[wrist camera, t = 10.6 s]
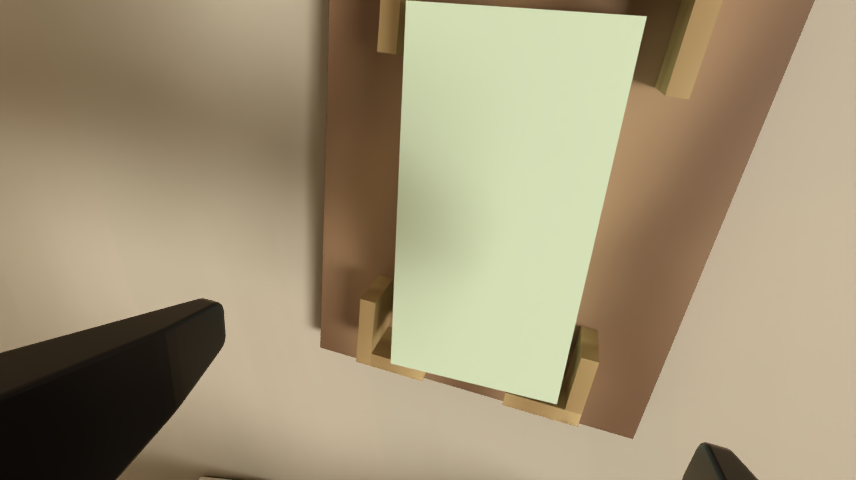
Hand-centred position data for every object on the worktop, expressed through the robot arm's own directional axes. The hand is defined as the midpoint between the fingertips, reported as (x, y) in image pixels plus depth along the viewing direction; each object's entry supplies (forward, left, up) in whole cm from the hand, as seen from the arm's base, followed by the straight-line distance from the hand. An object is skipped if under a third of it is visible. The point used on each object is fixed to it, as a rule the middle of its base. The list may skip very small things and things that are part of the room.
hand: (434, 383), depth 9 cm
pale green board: (0, 0, -10) cm, 10 cm away
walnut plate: (0, 0, -11) cm, 11 cm away
